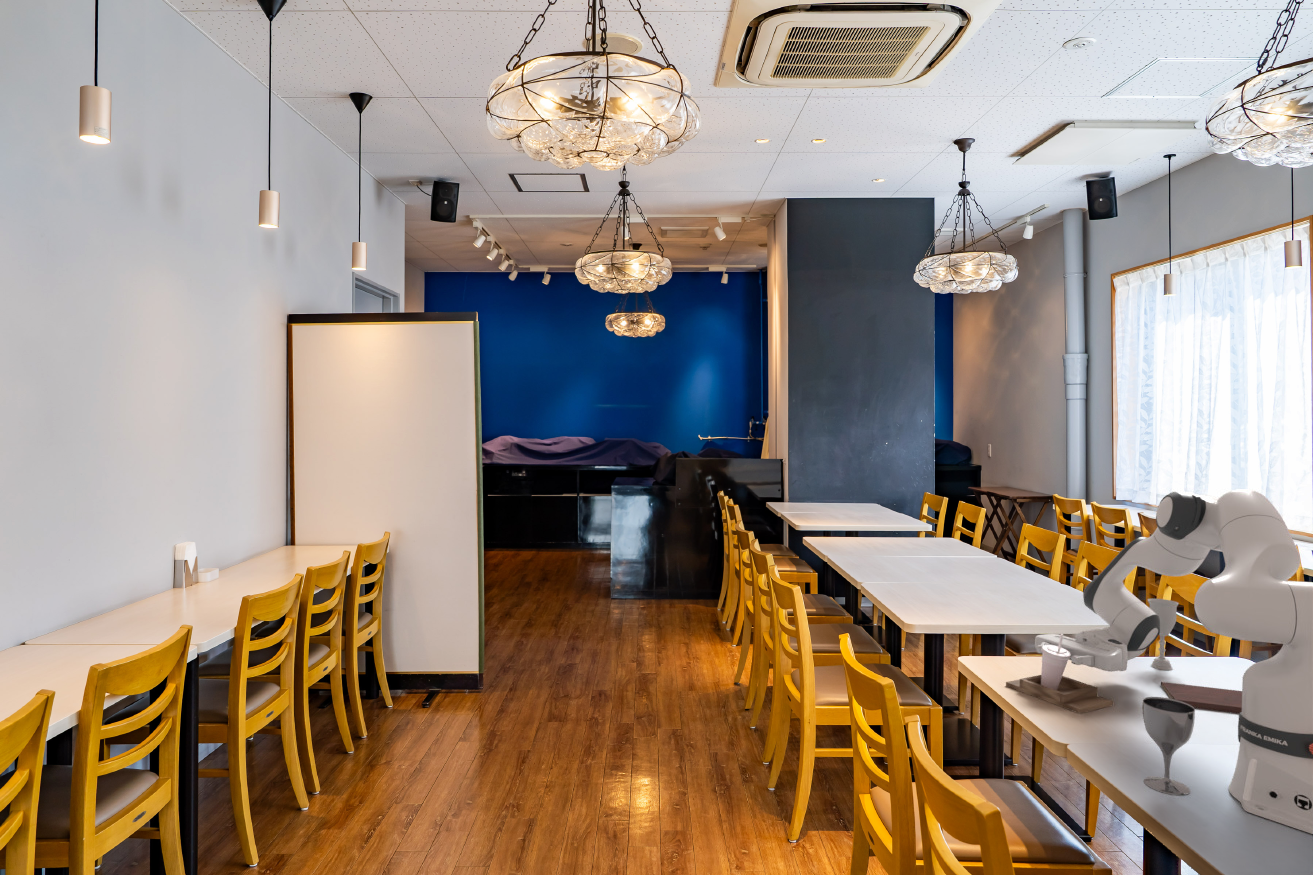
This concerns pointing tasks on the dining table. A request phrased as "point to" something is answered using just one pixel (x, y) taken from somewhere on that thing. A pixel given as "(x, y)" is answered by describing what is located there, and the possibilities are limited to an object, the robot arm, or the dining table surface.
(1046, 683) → the smoothie
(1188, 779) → the dining table surface
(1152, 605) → the chalice
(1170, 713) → the wine glass
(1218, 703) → the notebook
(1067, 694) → the tray
